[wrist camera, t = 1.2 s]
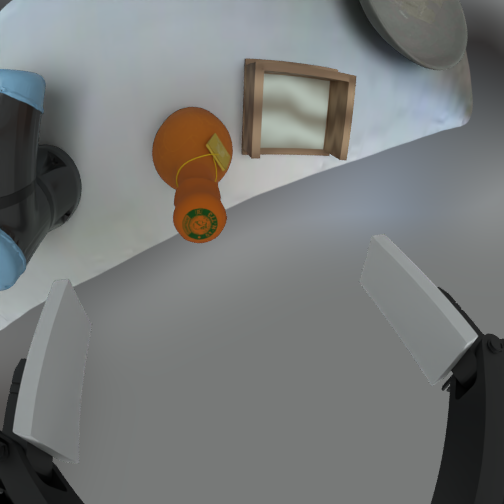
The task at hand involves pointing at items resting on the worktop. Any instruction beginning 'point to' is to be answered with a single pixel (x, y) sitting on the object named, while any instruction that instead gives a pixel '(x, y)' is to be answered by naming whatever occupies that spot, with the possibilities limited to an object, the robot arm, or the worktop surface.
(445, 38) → the bowl
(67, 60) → the worktop surface
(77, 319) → the robot arm
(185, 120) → the wine bottle
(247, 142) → the walnut U-rest
